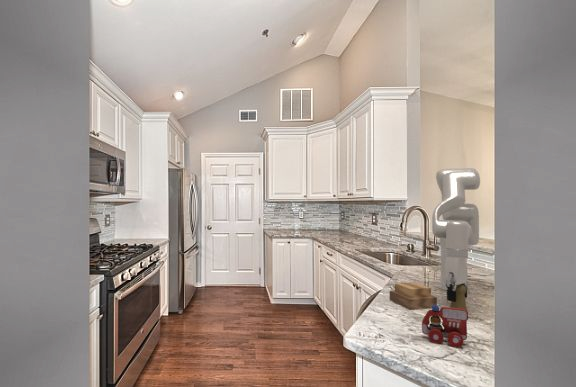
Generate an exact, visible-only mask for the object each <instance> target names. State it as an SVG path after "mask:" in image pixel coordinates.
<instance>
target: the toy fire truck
mask: <svg viewBox="0 0 576 387" xmlns="http://www.w3.org/2000/svg"><path fill="white" fill-rule="evenodd" d="M468 320H469V312H468V309H467V310H466V309H459V308H450V307H448V306H442V307H439V306H438V304H437V305H433V306H432V308H431V309H427V311H426V313H425V315H424V317H423V319H422V321H421V332H422V334H424V335H427V336H428V338H429V340H430V342H432V343H433V344H435V345H436V344H437V345H438V344H439V345H440V344H441V343H443V341H444V338H447V341H448V344H449V345H450V346H451V347H453V348H461V347H462V346H463V345H464V341H466V340H467V339H468V331H467V330H468V328H467V326H468V325H467V322H468Z"/></svg>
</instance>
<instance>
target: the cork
mask: <svg viewBox="0 0 576 387" xmlns="http://www.w3.org/2000/svg"><path fill="white" fill-rule="evenodd" d="M452 286H454V285H452ZM455 291H456V302H452V301H450V308H459V309H466V310H467V311H468V309H467V302H466V298H465V293H466V287H465V286H464V285H461V284H460V285H457V286H456V289H455Z"/></svg>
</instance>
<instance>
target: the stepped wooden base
mask: <svg viewBox="0 0 576 387" xmlns="http://www.w3.org/2000/svg"><path fill="white" fill-rule="evenodd" d="M389 301H390V302H392V303H395V304H396V305H399V306H400V307H402V308H405V309H407V310H409V311H412V310H423V309H432V306H433V305H437V306H438V297H436V296H434V295H432V288H431V287H430V286H426V285H424V284H421V283H418V282H416V281H411V282H408V281H407V282H394V290H389Z"/></svg>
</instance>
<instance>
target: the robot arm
mask: <svg viewBox="0 0 576 387" xmlns="http://www.w3.org/2000/svg"><path fill="white" fill-rule="evenodd" d="M435 173H436V174H435V179H436V183H437V186H438V188H439V190H440V192H441V202H439V203H438V205H436V207H435V208H434V210H433V212H432V217H431V218H432V219H431V224H432V225H431V230H432V234H433V236H434V237H436V238H438V239H439V245H440V283H438V284H437V286H436V287H437V288H438V289H440V290H442V291H443V290H444V291H446V301H449V302H451V301H452V302H456V291H455V289H456V286H457V285H460V284H461V285H464V286H465V287H466V293H465V299H466V298H468V285H470V283H471V282H470V280H468V279H469V278H468V261H467V260H468V259H469V246H476V245H478V244H479V241H480V215H479V214H480V213H479V208H478V206H477V205H476V204H474V203H466V191H467V190H468V191H469V190H470V191H474V190H477V189H479V187H480V185H481V177H480V173H479V172H478V171H477V169H476V168H473V167H472V168H471V167H470V168H468V167H467V168H465V167H464V168H443V169H440V170H437V171H436V172H435ZM441 216H442V217H441ZM440 218H442V219H440ZM452 285H454V286H452Z"/></svg>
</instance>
